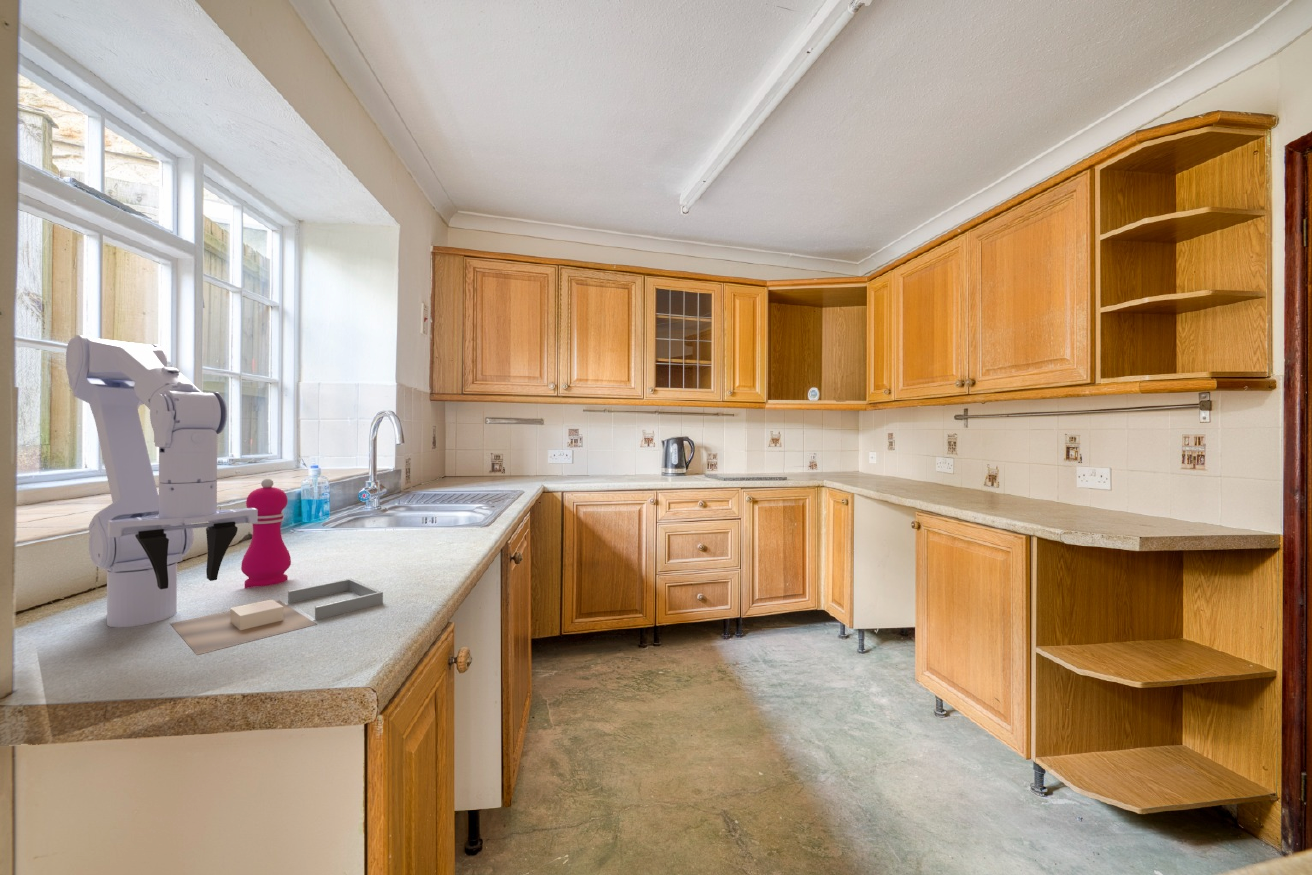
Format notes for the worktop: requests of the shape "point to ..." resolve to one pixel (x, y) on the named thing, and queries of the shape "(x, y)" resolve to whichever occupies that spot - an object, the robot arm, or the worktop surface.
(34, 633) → the worktop surface
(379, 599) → the box
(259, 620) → the tile
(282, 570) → the pepper mill
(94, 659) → the worktop surface
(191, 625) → the board
